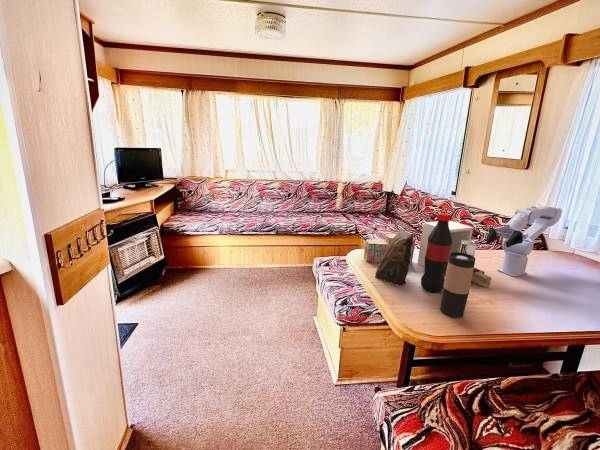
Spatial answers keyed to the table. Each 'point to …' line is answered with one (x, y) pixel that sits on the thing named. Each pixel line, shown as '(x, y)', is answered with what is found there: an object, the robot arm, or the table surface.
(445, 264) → the cola bottle
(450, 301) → the travel mug
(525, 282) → the table surface
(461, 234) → the tall white box
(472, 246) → the metal cup
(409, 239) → the owl
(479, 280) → the wooden post with crossbar
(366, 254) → the stack of blocks
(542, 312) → the table surface
